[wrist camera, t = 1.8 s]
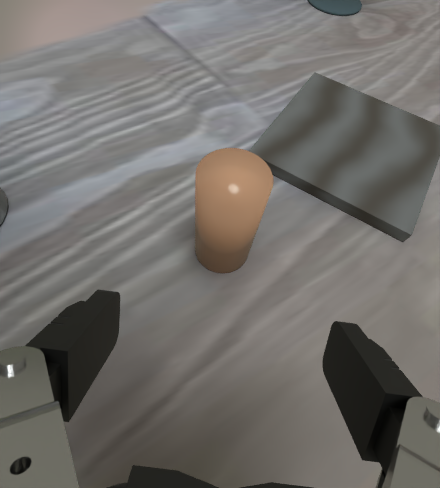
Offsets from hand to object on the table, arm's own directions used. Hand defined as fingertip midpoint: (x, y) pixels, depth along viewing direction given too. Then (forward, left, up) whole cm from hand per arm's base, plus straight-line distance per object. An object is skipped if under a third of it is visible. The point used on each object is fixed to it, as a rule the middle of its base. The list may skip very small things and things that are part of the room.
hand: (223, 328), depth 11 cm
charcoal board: (+1, +32, -16) cm, 36 cm away
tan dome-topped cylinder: (-5, +10, -16) cm, 20 cm away
